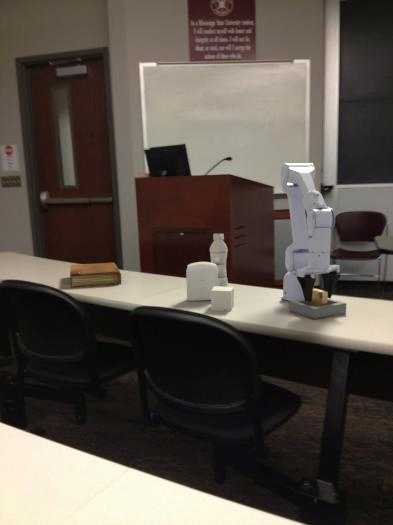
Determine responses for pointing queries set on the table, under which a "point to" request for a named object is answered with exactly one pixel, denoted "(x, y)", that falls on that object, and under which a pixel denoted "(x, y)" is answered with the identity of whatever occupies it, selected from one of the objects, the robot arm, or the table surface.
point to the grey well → (318, 309)
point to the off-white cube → (222, 298)
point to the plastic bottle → (219, 258)
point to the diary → (94, 274)
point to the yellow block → (319, 298)
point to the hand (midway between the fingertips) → (317, 299)
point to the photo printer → (201, 280)
